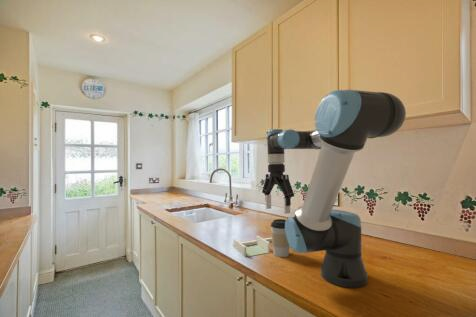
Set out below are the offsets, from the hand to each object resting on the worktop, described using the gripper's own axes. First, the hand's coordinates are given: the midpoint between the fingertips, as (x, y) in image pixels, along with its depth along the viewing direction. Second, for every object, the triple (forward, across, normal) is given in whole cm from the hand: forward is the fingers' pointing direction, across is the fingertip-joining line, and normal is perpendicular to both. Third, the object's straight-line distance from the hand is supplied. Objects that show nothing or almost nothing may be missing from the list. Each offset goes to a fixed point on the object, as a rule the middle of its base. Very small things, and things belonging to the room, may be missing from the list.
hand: (277, 211), depth 107 cm
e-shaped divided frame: (+19, +10, +2) cm, 21 cm away
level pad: (+19, +8, +8) cm, 22 cm away
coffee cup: (+19, -1, -1) cm, 19 cm away
